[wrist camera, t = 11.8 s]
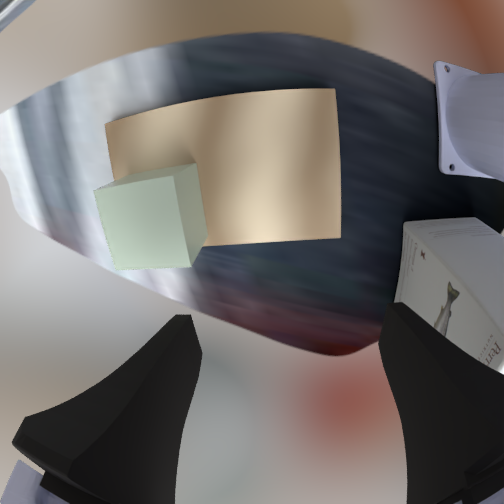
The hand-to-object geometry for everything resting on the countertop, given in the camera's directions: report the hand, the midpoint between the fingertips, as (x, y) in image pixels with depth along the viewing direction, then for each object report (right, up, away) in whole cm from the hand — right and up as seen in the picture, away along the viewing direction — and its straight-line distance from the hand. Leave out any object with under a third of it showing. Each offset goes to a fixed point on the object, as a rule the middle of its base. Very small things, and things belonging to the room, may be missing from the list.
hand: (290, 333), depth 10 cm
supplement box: (+13, +2, +9) cm, 16 cm away
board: (-3, +8, +7) cm, 11 cm away
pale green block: (-7, +6, +7) cm, 11 cm away
